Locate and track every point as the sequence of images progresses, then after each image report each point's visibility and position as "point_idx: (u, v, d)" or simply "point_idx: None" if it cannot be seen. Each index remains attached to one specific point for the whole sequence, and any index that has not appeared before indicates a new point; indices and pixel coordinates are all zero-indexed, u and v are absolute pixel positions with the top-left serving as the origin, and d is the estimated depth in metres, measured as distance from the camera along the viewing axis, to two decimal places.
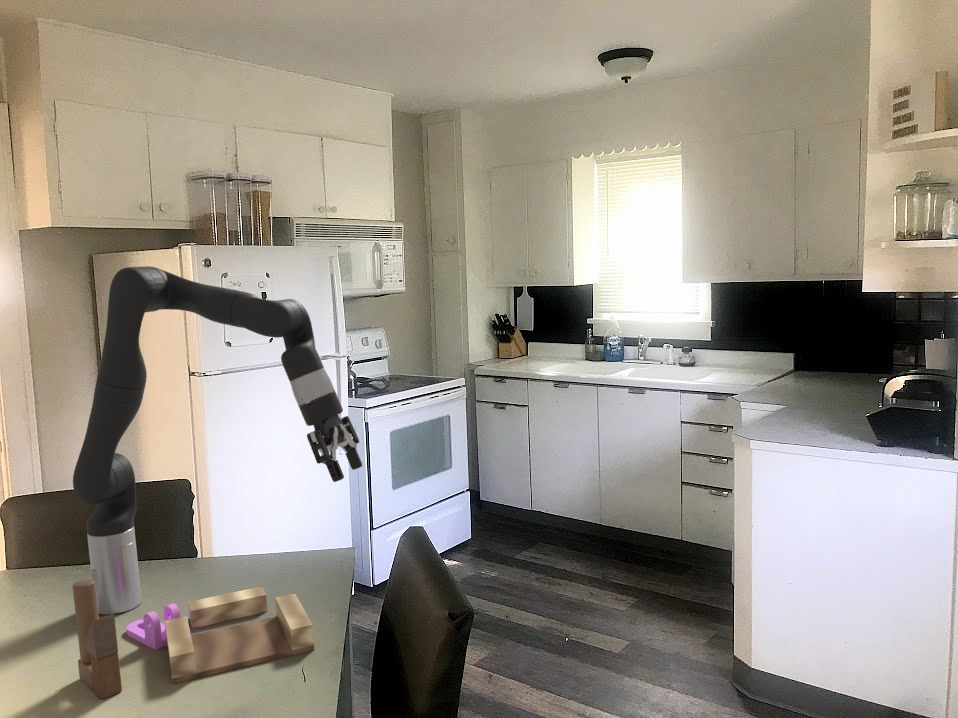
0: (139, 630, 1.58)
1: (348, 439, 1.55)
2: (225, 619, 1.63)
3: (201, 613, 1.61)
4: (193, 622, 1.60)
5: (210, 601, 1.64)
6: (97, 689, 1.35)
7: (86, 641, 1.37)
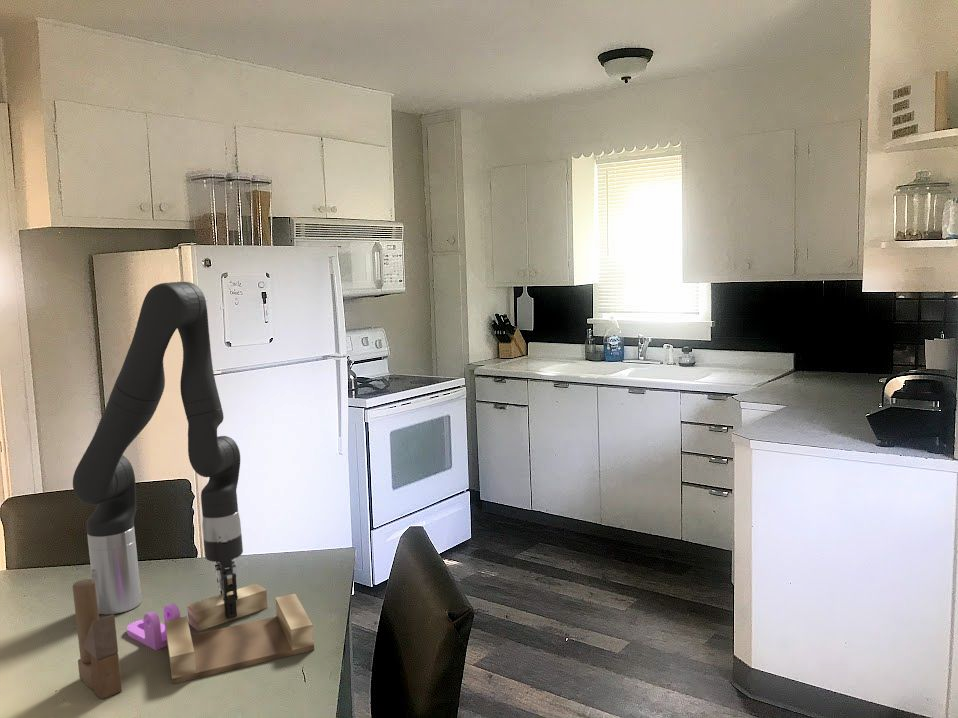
0: (139, 630, 1.58)
1: None
2: None
3: (206, 614, 1.60)
4: (198, 623, 1.59)
5: (211, 602, 1.63)
6: (97, 689, 1.35)
7: (86, 641, 1.37)
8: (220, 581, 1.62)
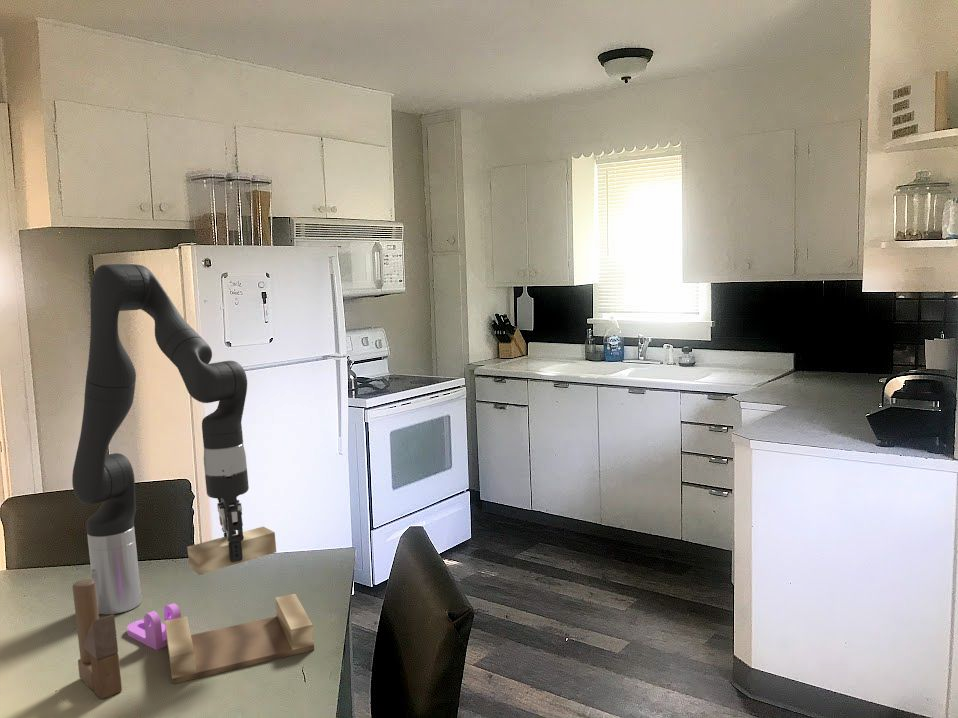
0: (139, 630, 1.58)
1: None
2: None
3: (208, 556, 1.44)
4: (200, 566, 1.43)
5: (213, 543, 1.47)
6: (97, 689, 1.35)
7: (86, 641, 1.37)
8: (224, 520, 1.46)
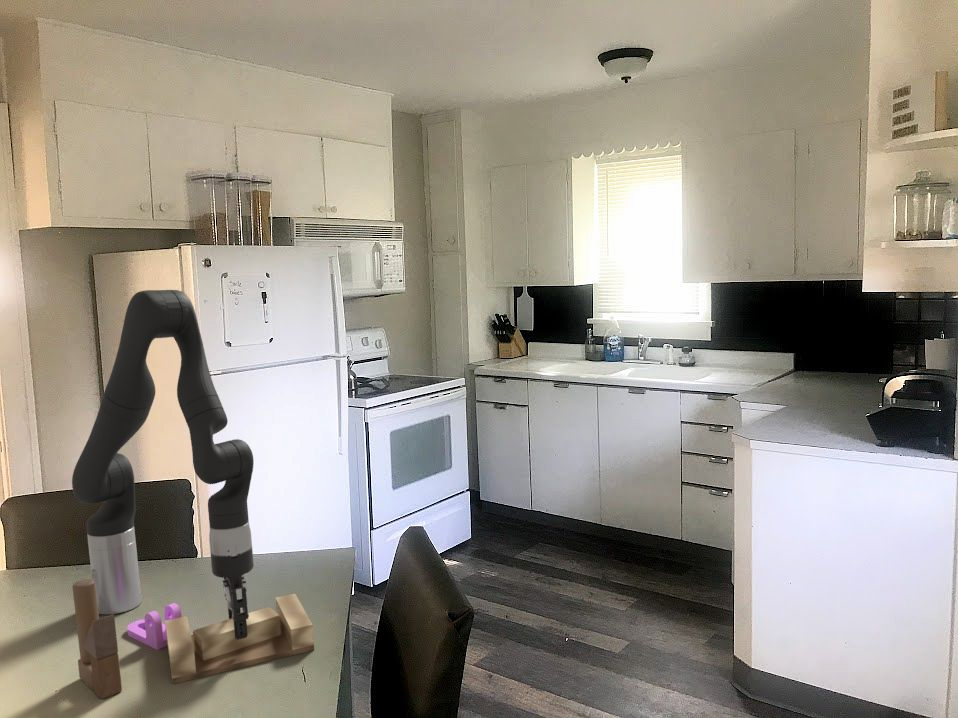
0: (140, 630, 1.58)
1: None
2: (237, 646, 1.48)
3: (212, 642, 1.46)
4: (204, 652, 1.45)
5: (218, 627, 1.49)
6: (97, 689, 1.35)
7: (86, 641, 1.37)
8: (229, 598, 1.47)
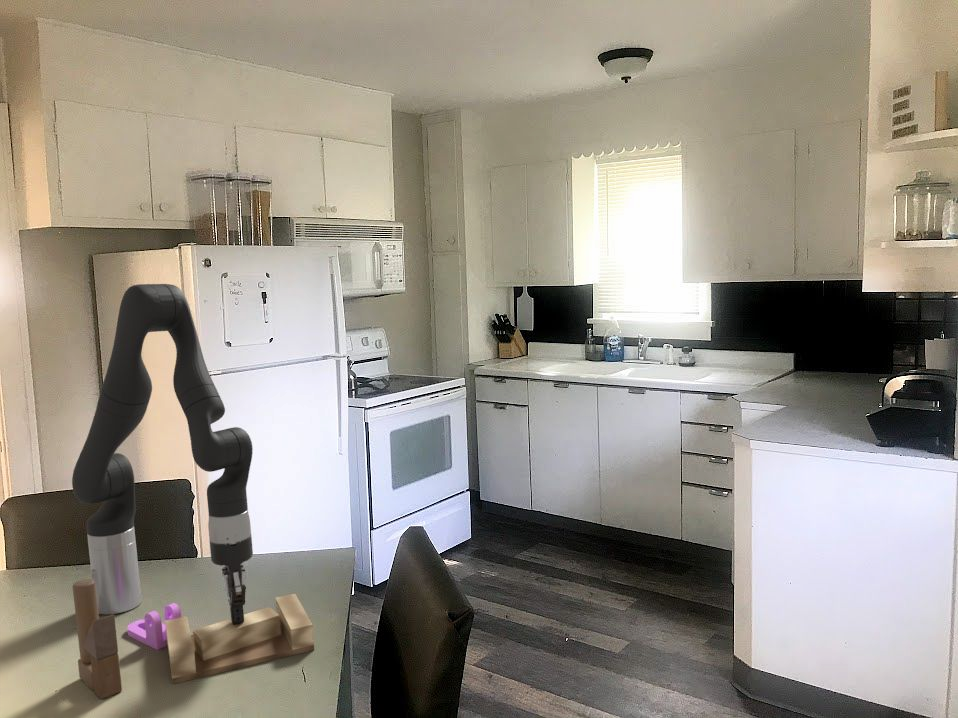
0: (140, 630, 1.58)
1: None
2: (237, 646, 1.48)
3: (212, 642, 1.46)
4: (204, 652, 1.45)
5: (218, 627, 1.49)
6: (97, 689, 1.35)
7: (86, 641, 1.37)
8: (227, 587, 1.48)
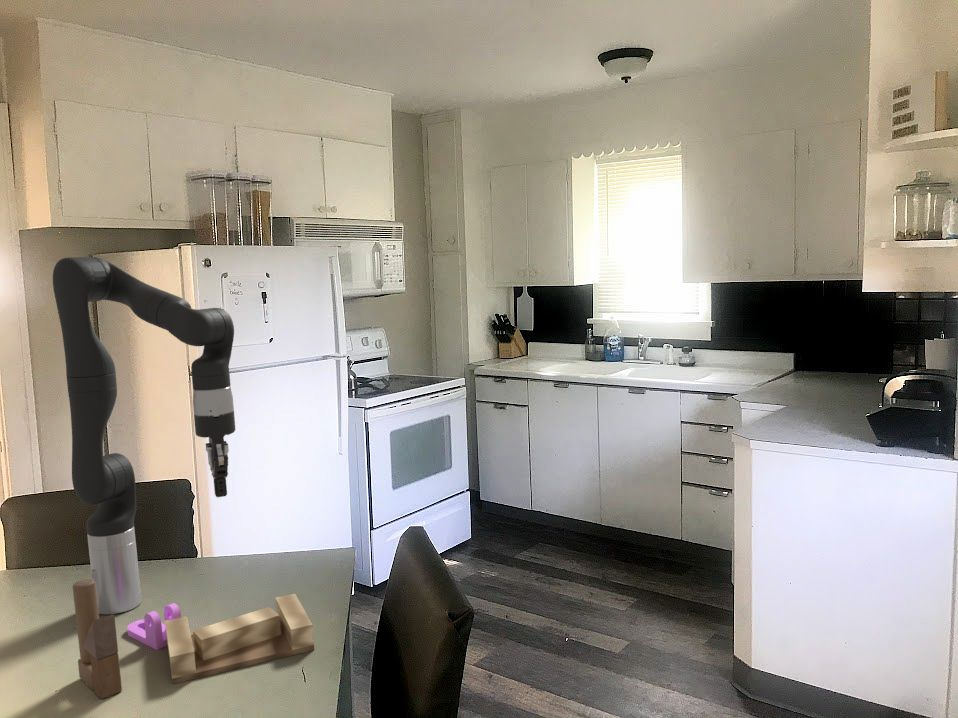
0: (140, 630, 1.58)
1: None
2: (237, 646, 1.48)
3: (212, 642, 1.46)
4: (204, 652, 1.45)
5: (218, 627, 1.49)
6: (97, 689, 1.35)
7: (86, 641, 1.37)
8: (211, 460, 1.55)
